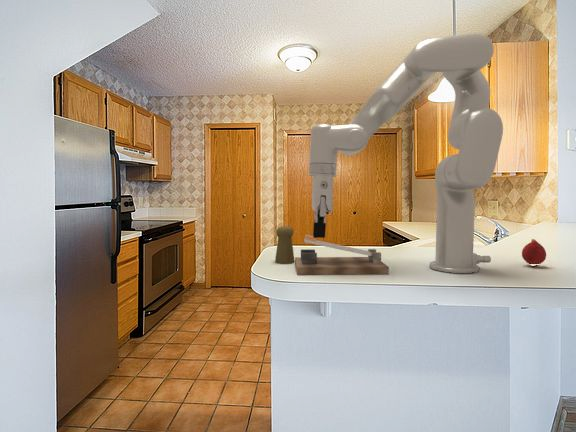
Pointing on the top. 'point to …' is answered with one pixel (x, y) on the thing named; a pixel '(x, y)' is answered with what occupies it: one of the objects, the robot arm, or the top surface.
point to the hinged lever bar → (335, 245)
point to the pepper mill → (284, 246)
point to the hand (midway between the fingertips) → (319, 237)
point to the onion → (534, 253)
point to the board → (339, 264)
